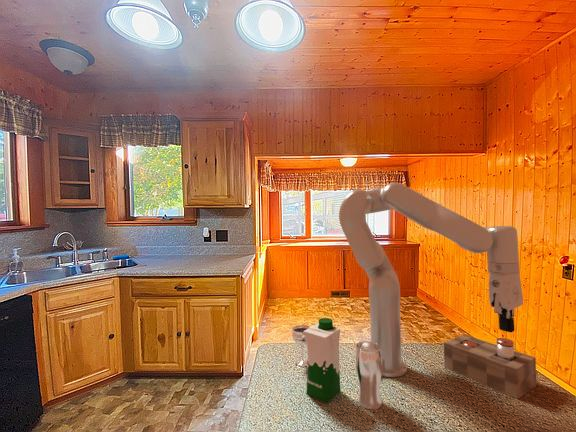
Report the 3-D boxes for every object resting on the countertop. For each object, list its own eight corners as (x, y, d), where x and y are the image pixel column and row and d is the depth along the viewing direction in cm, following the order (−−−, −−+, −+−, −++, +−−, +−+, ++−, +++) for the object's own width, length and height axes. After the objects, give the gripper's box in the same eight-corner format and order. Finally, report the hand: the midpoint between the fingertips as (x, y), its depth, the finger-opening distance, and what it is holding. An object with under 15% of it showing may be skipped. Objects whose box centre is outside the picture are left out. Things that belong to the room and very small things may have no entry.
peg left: (473, 371, 90) (472, 347, 90) (460, 366, 94) (460, 342, 94) (480, 368, 92) (479, 344, 92) (467, 362, 96) (466, 340, 96)
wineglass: (293, 358, 102) (292, 325, 102) (312, 359, 102) (311, 325, 102) (292, 368, 95) (291, 332, 96) (312, 369, 95) (311, 332, 95)
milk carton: (344, 391, 82) (343, 321, 83) (327, 407, 76) (325, 331, 76) (319, 380, 88) (318, 315, 88) (301, 394, 81) (299, 323, 82)
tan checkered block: (517, 399, 77) (516, 369, 77) (444, 367, 94) (443, 342, 94) (536, 385, 83) (535, 357, 83) (464, 357, 100) (464, 334, 100)
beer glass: (383, 396, 79) (381, 342, 80) (383, 413, 73) (381, 353, 73) (357, 392, 82) (356, 339, 82) (355, 407, 75) (353, 350, 75)
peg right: (510, 371, 82) (509, 344, 82) (494, 365, 85) (493, 339, 85) (517, 367, 84) (516, 341, 84) (501, 361, 87) (500, 336, 87)
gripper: (505, 273, 78) (509, 341, 77) (529, 266, 85) (533, 328, 85) (475, 269, 84) (479, 332, 84) (501, 263, 92) (504, 321, 91)
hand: (506, 330), depth 84 cm, fingers closed
